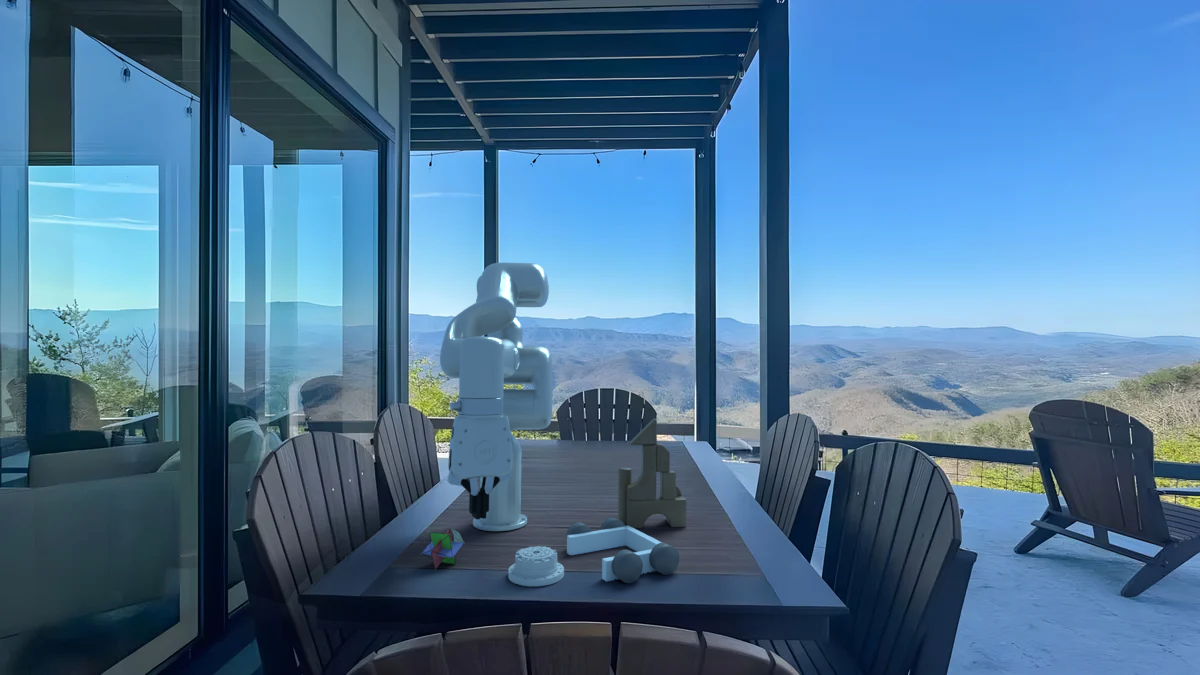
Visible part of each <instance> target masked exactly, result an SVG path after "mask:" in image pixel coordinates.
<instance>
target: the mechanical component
mask: <svg viewBox="0 0 1200 675" xmlns="http://www.w3.org/2000/svg"><path fill="white" fill-rule="evenodd" d="M514 560H515V562H514V563H513V564H512V565H510V566H509V567H508V570H507V571H508V572H507V577H508V579H509V581H510V582H511V583H513V584H517V585H519V586H522V587H523V586H524V587H543V586H549V585H552V584H556V583H558V582H560V581H561V580H562V579H563V578H564V575H565V567H564V565H563V564H562V563H561V562H559V561H558V552H557V549H552V548H551V547H550V546H549V547H547V546H545V545H544V546H542V545H537V546H529V547H526V548H520V549H519V550H517V551H516V552H515V559H514Z"/></svg>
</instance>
